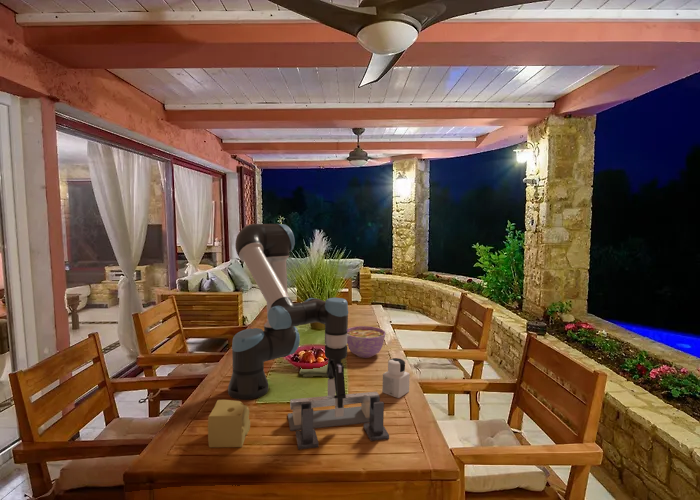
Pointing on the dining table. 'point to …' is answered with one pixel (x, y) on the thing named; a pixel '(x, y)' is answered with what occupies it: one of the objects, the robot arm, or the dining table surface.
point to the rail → (332, 400)
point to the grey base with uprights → (332, 417)
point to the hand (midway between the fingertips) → (335, 406)
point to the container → (396, 378)
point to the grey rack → (373, 428)
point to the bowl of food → (365, 340)
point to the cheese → (228, 424)
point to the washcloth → (314, 371)
